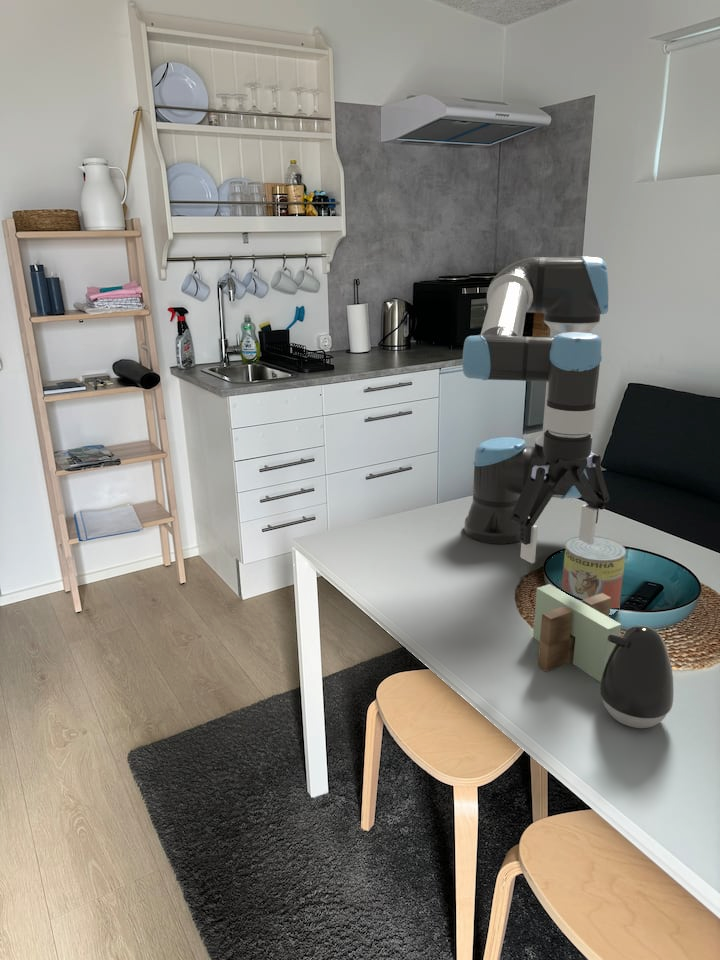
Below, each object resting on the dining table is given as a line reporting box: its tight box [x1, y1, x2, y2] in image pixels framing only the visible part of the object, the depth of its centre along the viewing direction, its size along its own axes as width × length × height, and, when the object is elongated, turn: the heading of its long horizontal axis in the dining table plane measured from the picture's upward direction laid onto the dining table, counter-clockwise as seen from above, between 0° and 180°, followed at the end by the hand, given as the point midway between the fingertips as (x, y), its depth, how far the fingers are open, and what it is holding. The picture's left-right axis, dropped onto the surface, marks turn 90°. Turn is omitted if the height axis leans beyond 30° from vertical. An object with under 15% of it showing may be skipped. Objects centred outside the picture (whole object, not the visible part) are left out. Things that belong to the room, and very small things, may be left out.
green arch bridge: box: [532, 583, 622, 683], centre depth 118 cm, size 3×16×10 cm, turn 30°
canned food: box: [561, 535, 627, 609], centre depth 135 cm, size 11×11×12 cm
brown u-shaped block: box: [537, 593, 611, 673], centre depth 118 cm, size 14×2×10 cm, turn 120°
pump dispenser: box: [599, 625, 675, 729], centre depth 102 cm, size 10×10×15 cm
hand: (557, 550), depth 119 cm, fingers open, 13 cm apart
